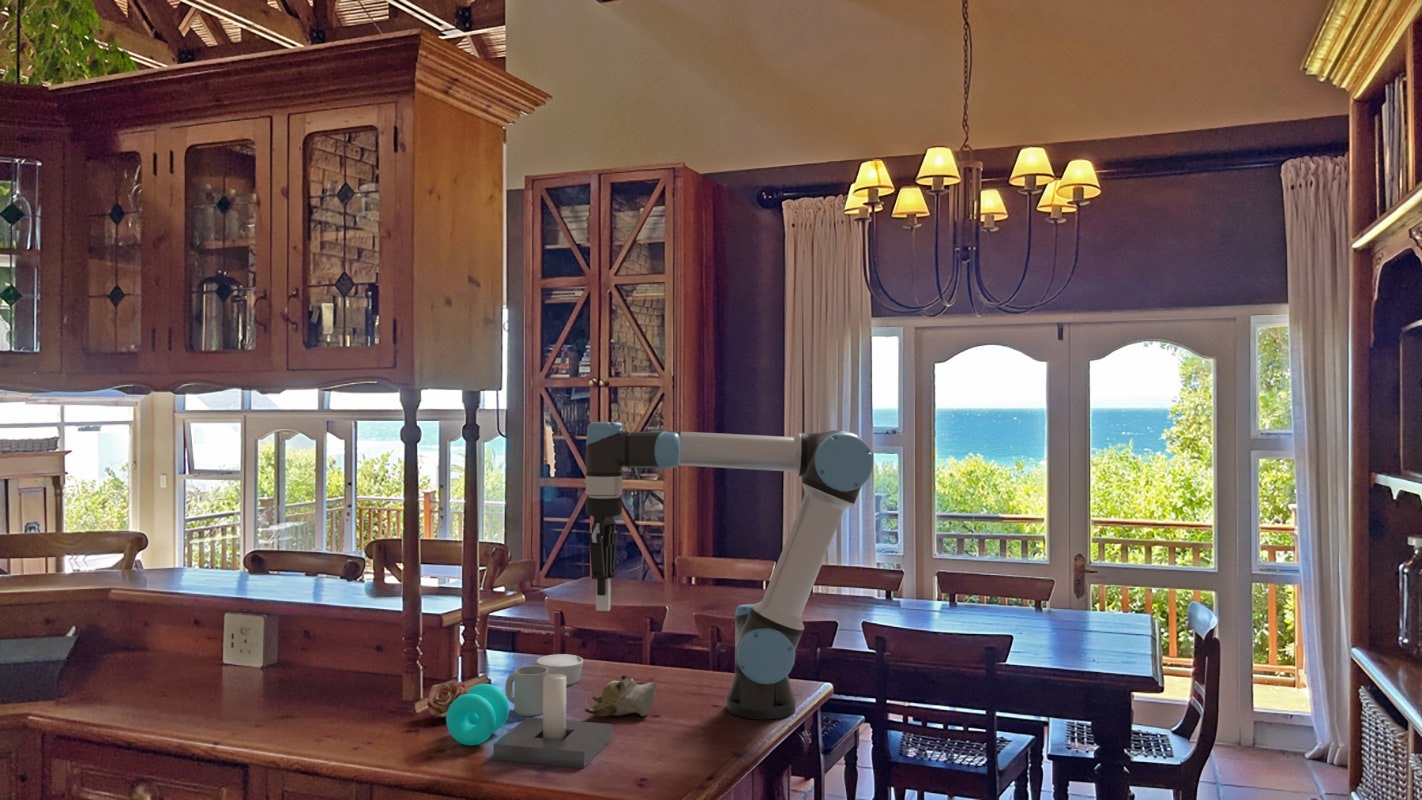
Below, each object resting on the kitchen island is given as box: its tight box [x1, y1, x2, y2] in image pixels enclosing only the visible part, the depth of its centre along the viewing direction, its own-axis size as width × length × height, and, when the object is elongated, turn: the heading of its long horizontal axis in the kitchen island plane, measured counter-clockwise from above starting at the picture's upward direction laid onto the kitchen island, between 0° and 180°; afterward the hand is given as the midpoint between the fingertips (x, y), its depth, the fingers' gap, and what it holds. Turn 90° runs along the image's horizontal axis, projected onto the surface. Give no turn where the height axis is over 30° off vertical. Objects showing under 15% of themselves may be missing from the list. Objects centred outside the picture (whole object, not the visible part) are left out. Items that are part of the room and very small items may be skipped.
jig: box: [492, 716, 613, 769], centre depth 188 cm, size 18×16×3 cm
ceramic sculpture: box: [584, 675, 657, 717], centre depth 209 cm, size 11×9×15 cm
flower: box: [426, 678, 467, 720], centre depth 206 cm, size 9×9×7 cm
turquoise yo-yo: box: [445, 683, 510, 746], centre depth 193 cm, size 10×10×10 cm
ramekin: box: [536, 653, 584, 687], centre depth 234 cm, size 11×11×5 cm
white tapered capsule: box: [542, 674, 567, 740], centre depth 188 cm, size 4×4×14 cm
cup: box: [504, 665, 548, 717], centre depth 211 cm, size 7×10×9 cm
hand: (603, 609), depth 200 cm, fingers closed
